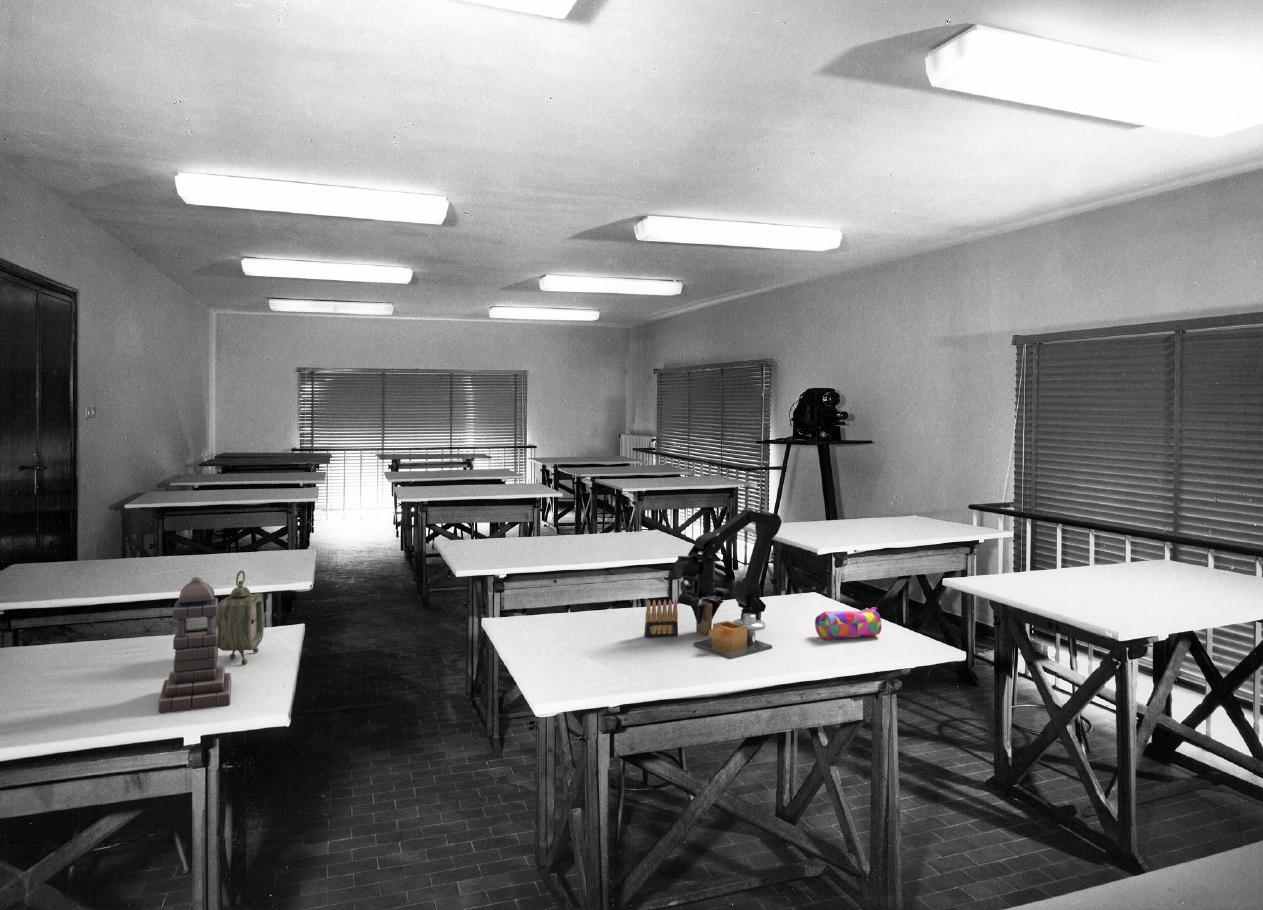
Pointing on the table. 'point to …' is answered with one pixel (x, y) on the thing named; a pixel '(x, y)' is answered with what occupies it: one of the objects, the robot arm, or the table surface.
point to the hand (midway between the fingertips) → (704, 622)
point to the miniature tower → (195, 655)
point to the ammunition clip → (661, 620)
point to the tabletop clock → (240, 621)
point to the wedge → (705, 620)
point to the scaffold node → (735, 637)
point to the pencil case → (848, 624)
